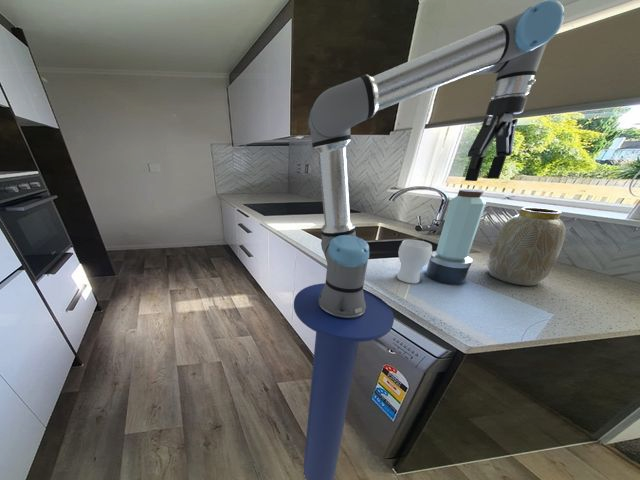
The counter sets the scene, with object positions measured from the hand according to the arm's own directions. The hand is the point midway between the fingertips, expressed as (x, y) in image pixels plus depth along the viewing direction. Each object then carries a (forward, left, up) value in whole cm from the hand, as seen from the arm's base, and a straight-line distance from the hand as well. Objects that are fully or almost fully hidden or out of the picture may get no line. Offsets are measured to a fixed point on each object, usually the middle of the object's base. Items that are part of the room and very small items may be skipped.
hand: (482, 179), depth 74 cm
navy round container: (-6, +10, -39) cm, 40 cm away
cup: (-12, -4, -39) cm, 41 cm away
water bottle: (-6, +10, -30) cm, 32 cm away
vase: (+7, +32, -39) cm, 51 cm away
